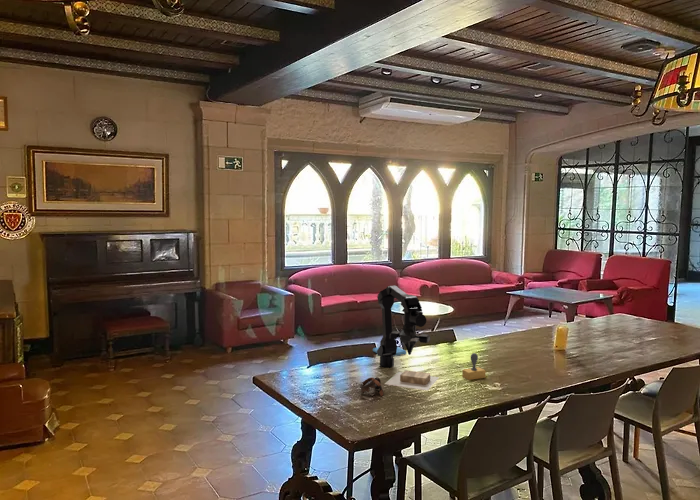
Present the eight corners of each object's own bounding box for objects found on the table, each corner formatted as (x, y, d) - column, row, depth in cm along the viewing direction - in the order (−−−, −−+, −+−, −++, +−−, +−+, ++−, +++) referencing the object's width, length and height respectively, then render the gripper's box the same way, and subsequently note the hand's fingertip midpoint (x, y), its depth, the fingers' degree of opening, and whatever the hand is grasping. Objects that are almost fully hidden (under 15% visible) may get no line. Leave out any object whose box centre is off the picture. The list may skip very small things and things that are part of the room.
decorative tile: (384, 358, 293) (384, 354, 292) (372, 352, 305) (372, 348, 305) (406, 355, 299) (406, 351, 299) (394, 349, 311) (394, 345, 311)
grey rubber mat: (384, 384, 247) (384, 383, 247) (398, 372, 265) (398, 371, 265) (427, 391, 238) (427, 390, 238) (439, 378, 256) (439, 377, 256)
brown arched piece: (381, 400, 229) (371, 384, 228) (364, 405, 234) (354, 390, 233) (389, 384, 239) (380, 369, 239) (373, 390, 244) (364, 375, 243)
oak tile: (400, 375, 250) (425, 378, 244) (405, 370, 257) (430, 373, 252) (400, 381, 250) (425, 385, 245) (405, 376, 257) (430, 380, 252)
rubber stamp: (468, 380, 254) (469, 355, 253) (461, 376, 259) (462, 352, 258) (485, 377, 258) (486, 353, 257) (478, 374, 263) (479, 350, 262)
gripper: (385, 324, 247) (385, 356, 248) (424, 327, 239) (423, 361, 241) (393, 319, 257) (393, 350, 259) (430, 322, 250) (430, 355, 251)
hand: (409, 354), depth 252 cm, fingers closed
